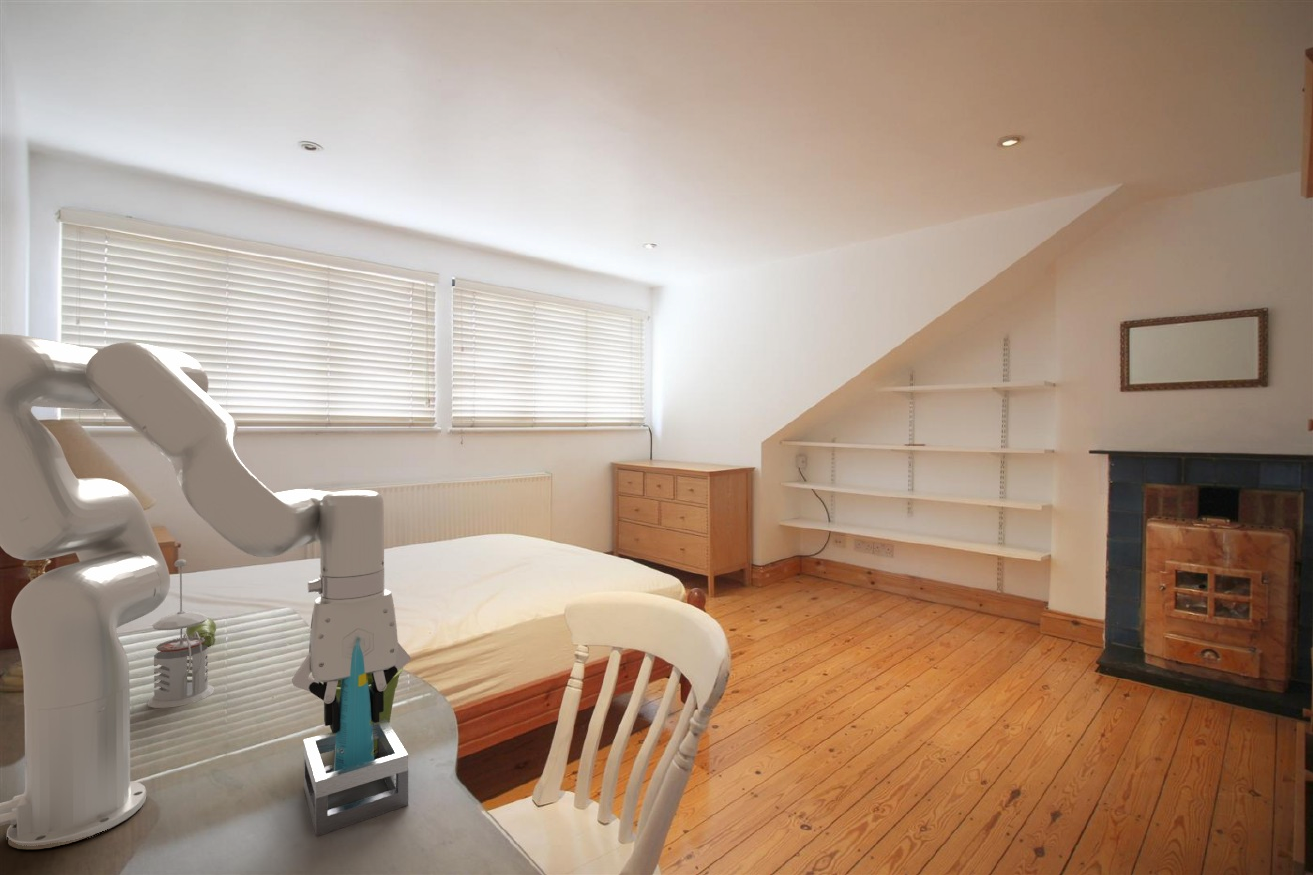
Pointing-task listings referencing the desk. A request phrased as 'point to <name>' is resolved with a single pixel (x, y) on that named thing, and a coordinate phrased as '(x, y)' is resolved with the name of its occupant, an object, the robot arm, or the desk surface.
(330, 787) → the square metal frame
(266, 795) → the desk surface
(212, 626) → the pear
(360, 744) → the tube
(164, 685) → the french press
